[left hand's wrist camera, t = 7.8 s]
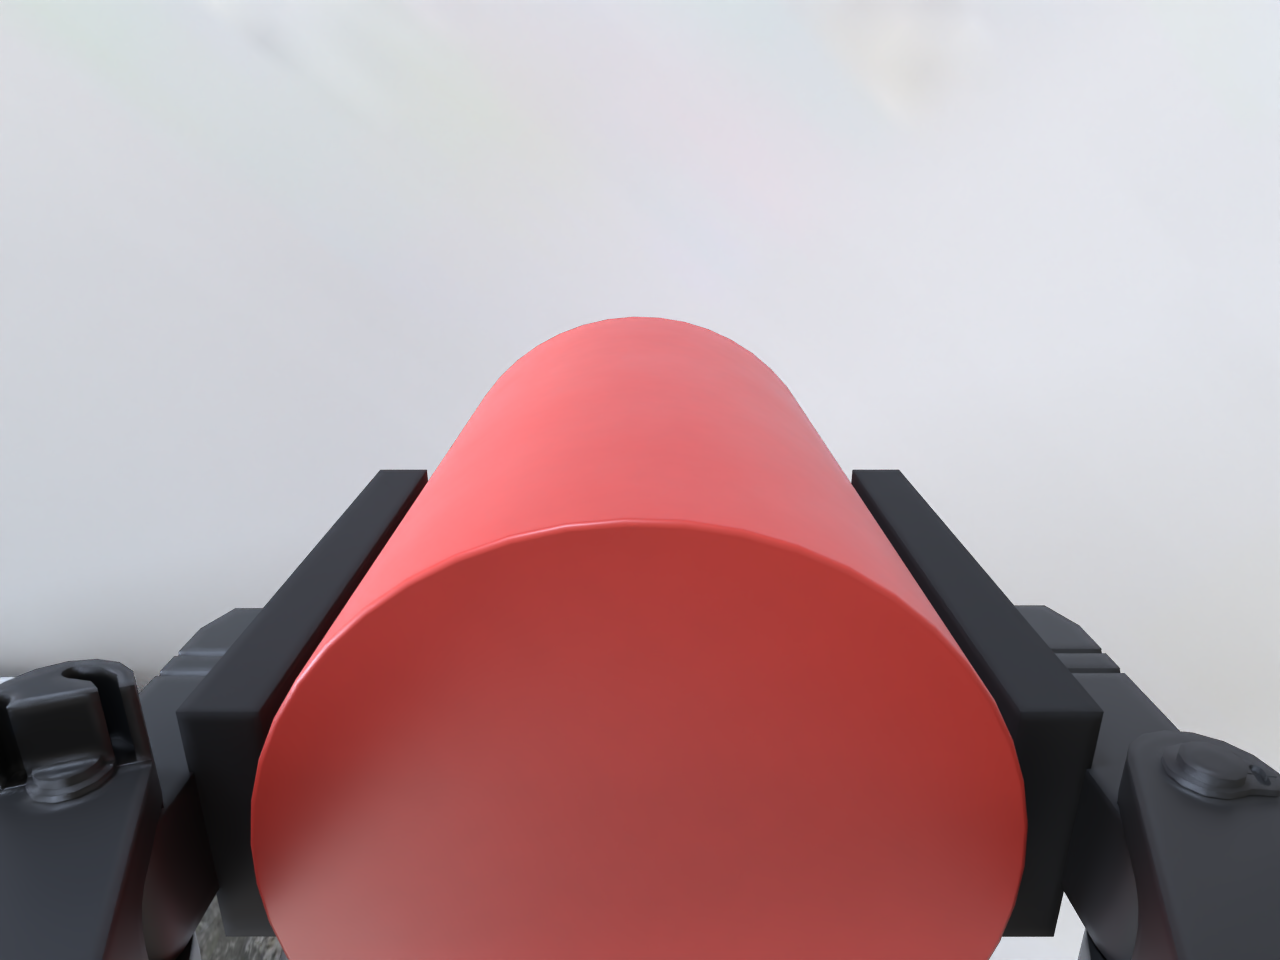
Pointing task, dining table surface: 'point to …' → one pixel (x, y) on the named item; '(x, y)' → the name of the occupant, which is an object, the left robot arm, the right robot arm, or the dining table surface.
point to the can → (638, 697)
